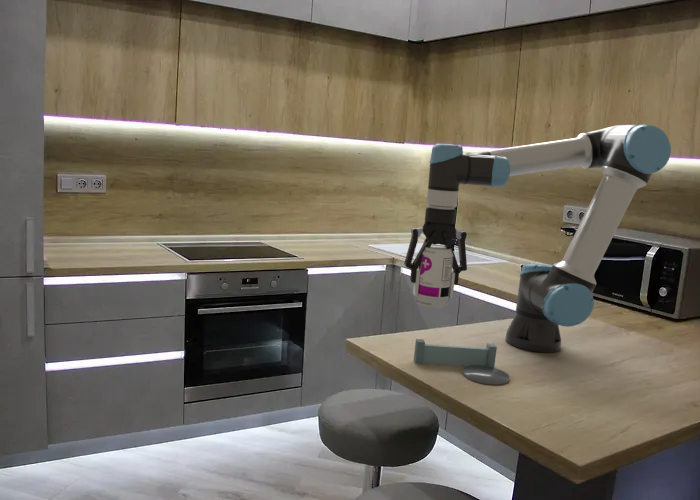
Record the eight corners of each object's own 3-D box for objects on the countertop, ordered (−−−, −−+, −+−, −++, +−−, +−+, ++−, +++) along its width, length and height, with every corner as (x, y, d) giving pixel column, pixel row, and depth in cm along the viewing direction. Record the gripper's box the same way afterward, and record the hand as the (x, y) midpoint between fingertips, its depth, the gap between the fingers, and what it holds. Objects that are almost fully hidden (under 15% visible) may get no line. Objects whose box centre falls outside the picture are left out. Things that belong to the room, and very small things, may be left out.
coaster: (500, 369, 159) (501, 366, 159) (515, 386, 148) (515, 383, 148) (457, 366, 158) (457, 364, 158) (468, 383, 147) (469, 381, 147)
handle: (491, 364, 161) (494, 343, 160) (494, 368, 159) (496, 346, 158) (413, 360, 159) (416, 338, 159) (415, 363, 157) (417, 342, 156)
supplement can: (422, 309, 158) (428, 249, 156) (411, 300, 166) (416, 243, 164) (453, 309, 161) (459, 250, 158) (440, 300, 168) (445, 244, 166)
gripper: (478, 208, 164) (469, 294, 168) (397, 202, 162) (389, 290, 166) (487, 211, 156) (477, 302, 160) (401, 206, 154) (393, 297, 158)
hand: (432, 296), depth 163 cm, fingers closed on supplement can, 8 cm apart
